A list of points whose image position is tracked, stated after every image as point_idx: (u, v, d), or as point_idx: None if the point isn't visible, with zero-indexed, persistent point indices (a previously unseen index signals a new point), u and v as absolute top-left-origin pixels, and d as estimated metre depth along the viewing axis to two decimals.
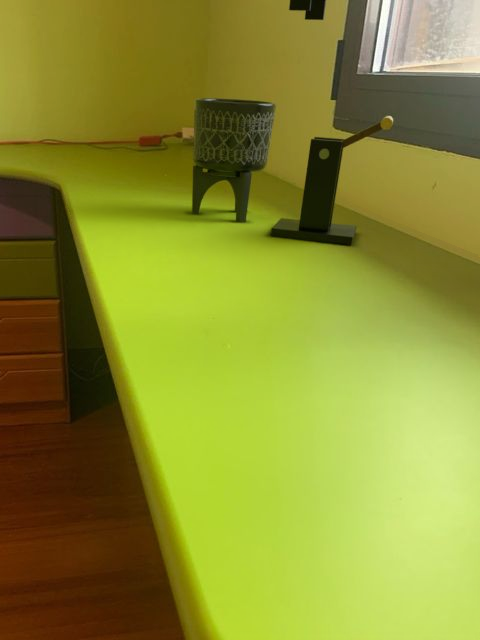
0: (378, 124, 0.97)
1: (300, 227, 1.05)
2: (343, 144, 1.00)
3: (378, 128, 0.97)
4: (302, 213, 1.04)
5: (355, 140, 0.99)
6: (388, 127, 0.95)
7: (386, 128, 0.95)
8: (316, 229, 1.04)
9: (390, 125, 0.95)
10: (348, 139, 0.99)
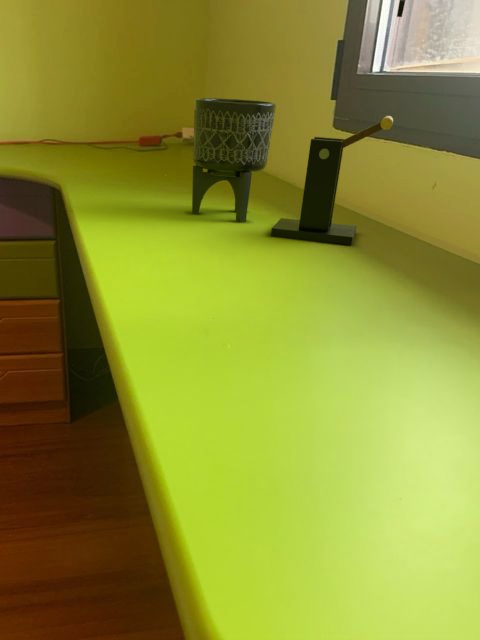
0: (378, 124, 0.97)
1: (300, 227, 1.05)
2: (343, 144, 1.00)
3: (378, 128, 0.97)
4: (302, 213, 1.04)
5: (355, 140, 0.99)
6: (388, 127, 0.95)
7: (386, 128, 0.95)
8: (316, 229, 1.04)
9: (390, 125, 0.95)
10: (348, 139, 0.99)
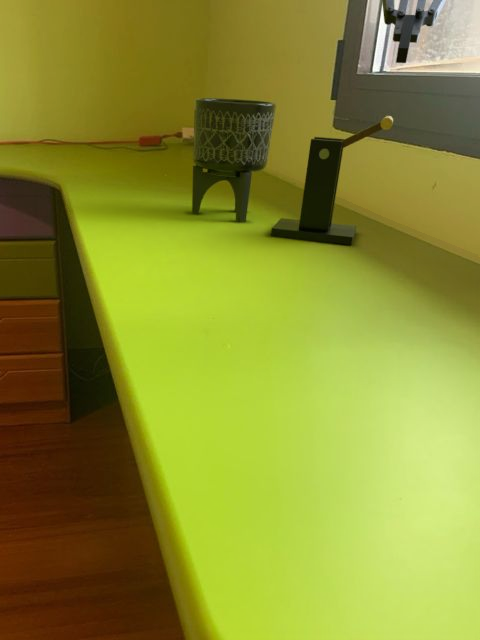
0: (378, 124, 0.97)
1: (300, 227, 1.05)
2: (343, 144, 1.00)
3: (378, 128, 0.97)
4: (302, 213, 1.04)
5: (355, 140, 0.99)
6: (388, 127, 0.95)
7: (386, 128, 0.95)
8: (316, 229, 1.04)
9: (390, 125, 0.95)
10: (348, 139, 0.99)
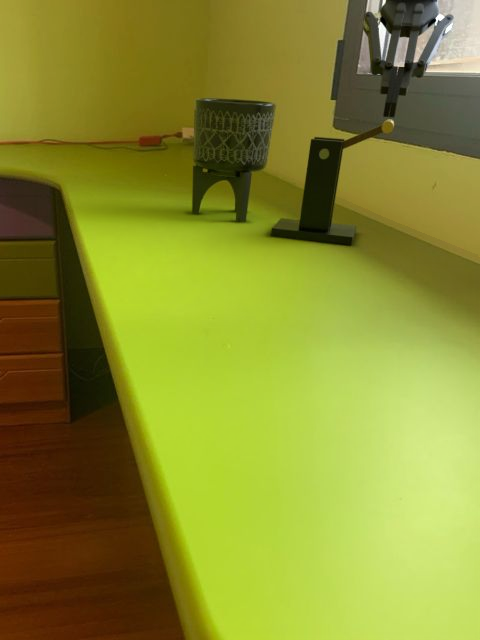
0: (379, 127, 0.97)
1: (300, 227, 1.05)
2: (343, 145, 1.00)
3: (379, 131, 0.98)
4: (302, 213, 1.04)
5: (355, 142, 0.99)
6: (389, 131, 0.95)
7: (387, 131, 0.95)
8: (316, 229, 1.04)
9: (391, 129, 0.95)
10: (349, 140, 0.99)
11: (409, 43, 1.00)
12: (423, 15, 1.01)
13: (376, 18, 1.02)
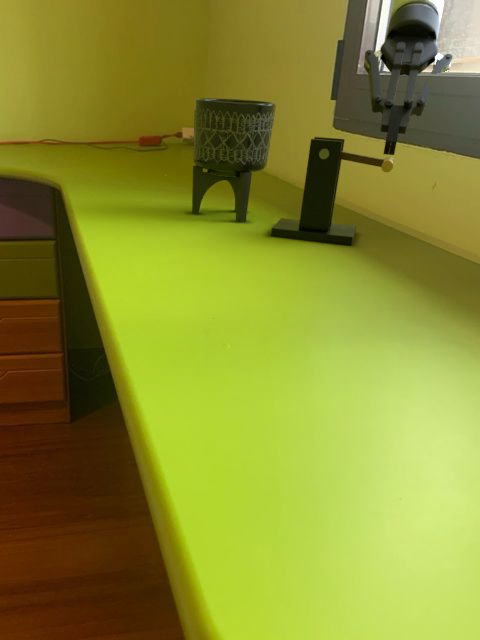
0: (380, 160, 0.99)
1: (300, 227, 1.05)
2: (343, 156, 1.00)
3: (378, 164, 0.99)
4: (302, 213, 1.04)
5: (354, 160, 1.00)
6: (386, 170, 0.97)
7: (384, 170, 0.97)
8: (316, 229, 1.04)
9: (389, 170, 0.97)
10: (350, 155, 1.00)
11: (409, 82, 1.02)
12: (422, 54, 1.03)
13: (376, 56, 1.04)
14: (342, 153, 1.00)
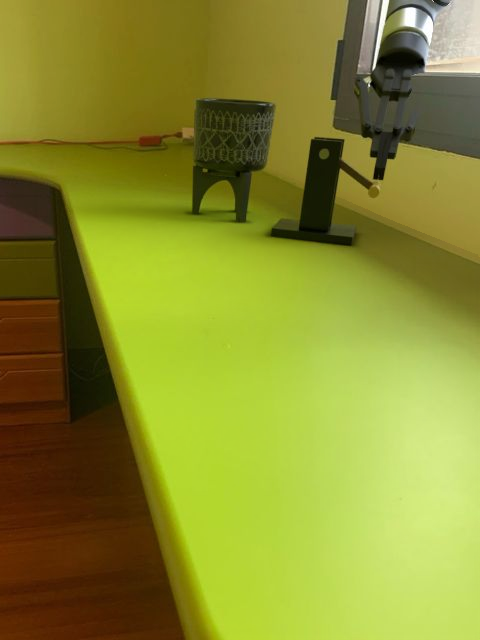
0: (370, 183, 1.01)
1: (300, 227, 1.05)
2: (339, 164, 1.01)
3: (366, 185, 1.01)
4: (302, 213, 1.04)
5: (348, 172, 1.01)
6: (371, 195, 0.99)
7: (370, 194, 0.99)
8: (316, 229, 1.04)
9: (373, 196, 0.99)
10: (346, 165, 1.01)
11: (397, 109, 1.04)
12: None
13: (366, 83, 1.06)
14: (340, 160, 1.01)
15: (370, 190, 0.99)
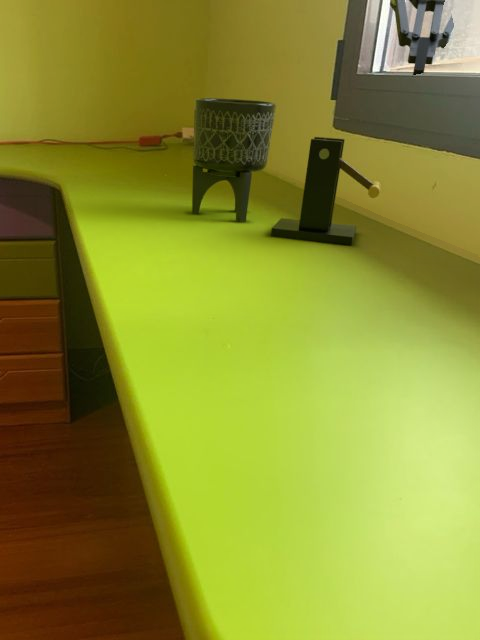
0: (370, 183, 1.01)
1: (300, 227, 1.05)
2: (339, 164, 1.01)
3: (366, 185, 1.01)
4: (302, 213, 1.04)
5: (348, 172, 1.01)
6: (371, 195, 0.99)
7: (370, 194, 0.99)
8: (316, 229, 1.04)
9: (373, 196, 0.99)
10: (346, 165, 1.01)
11: (434, 16, 1.07)
12: None
13: None
14: (340, 160, 1.01)
15: (370, 190, 0.99)
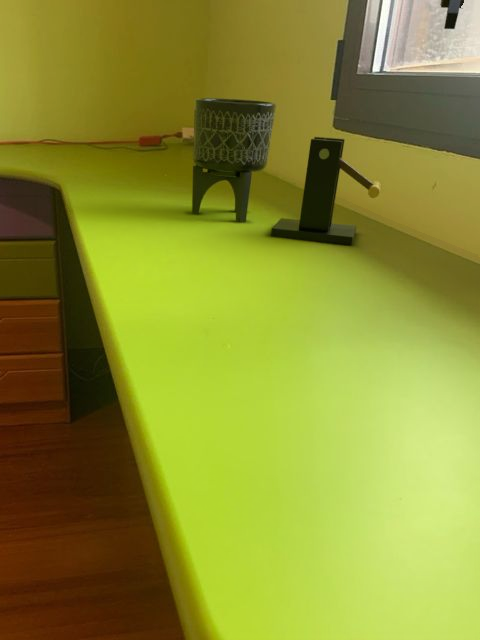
0: (370, 183, 1.01)
1: (300, 227, 1.05)
2: (339, 164, 1.01)
3: (366, 185, 1.01)
4: (302, 213, 1.04)
5: (348, 172, 1.01)
6: (371, 195, 0.99)
7: (370, 194, 0.99)
8: (316, 229, 1.04)
9: (373, 196, 0.99)
10: (346, 165, 1.01)
11: None
12: None
13: None
14: (340, 160, 1.01)
15: (370, 190, 0.99)
